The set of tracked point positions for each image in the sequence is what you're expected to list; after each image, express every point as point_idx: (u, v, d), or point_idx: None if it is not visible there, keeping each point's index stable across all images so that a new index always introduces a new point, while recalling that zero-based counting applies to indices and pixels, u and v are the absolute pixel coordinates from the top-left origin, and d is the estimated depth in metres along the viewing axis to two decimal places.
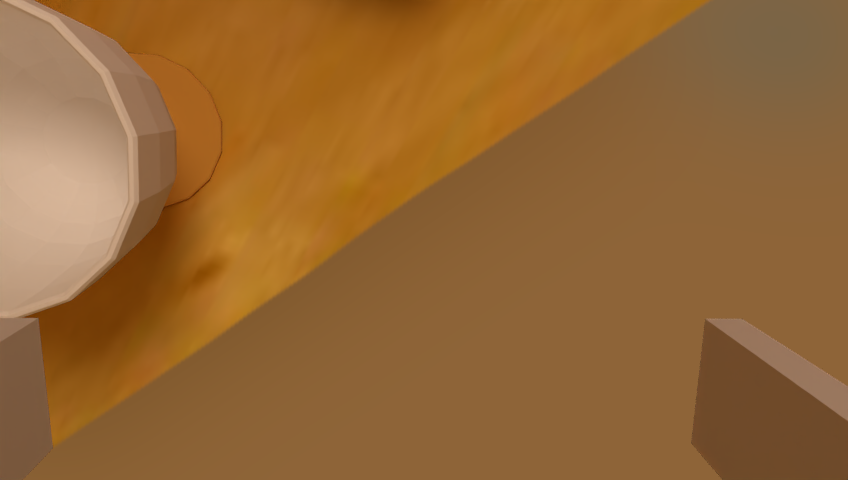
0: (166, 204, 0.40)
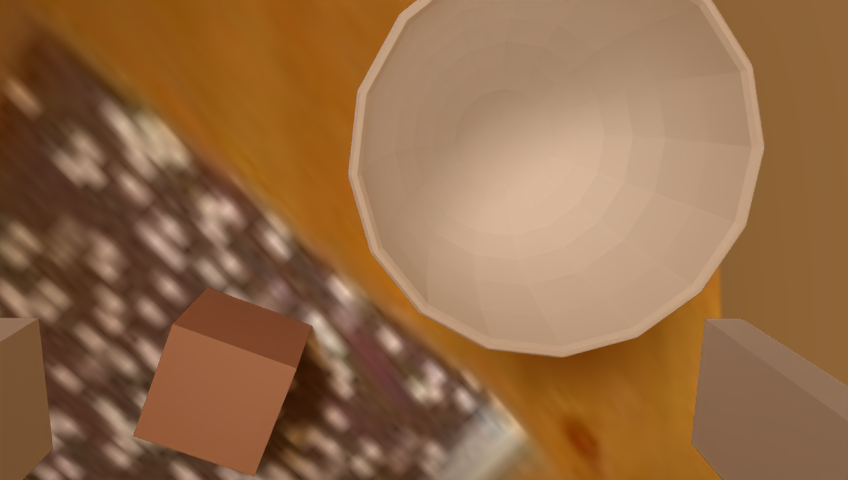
0: None
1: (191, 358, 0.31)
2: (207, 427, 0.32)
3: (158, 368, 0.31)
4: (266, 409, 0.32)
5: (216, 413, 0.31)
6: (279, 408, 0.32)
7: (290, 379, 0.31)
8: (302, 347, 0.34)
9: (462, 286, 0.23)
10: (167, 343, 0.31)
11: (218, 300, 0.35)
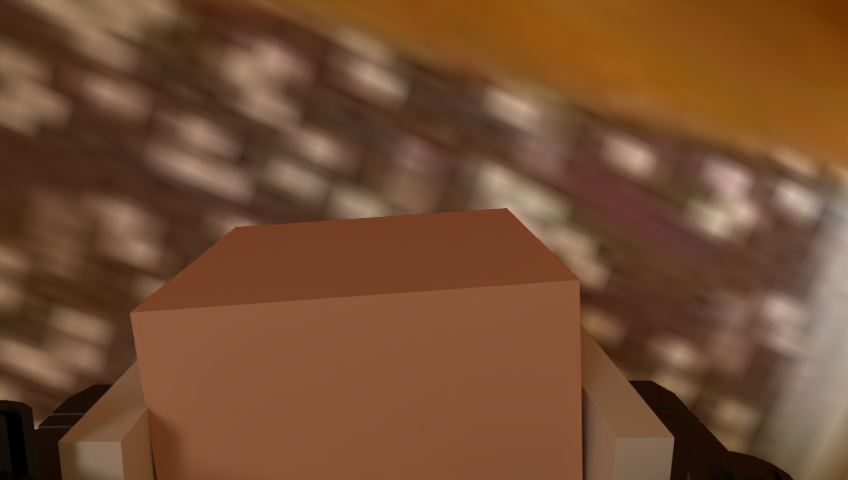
0: None
1: (240, 393, 0.09)
2: None
3: (159, 469, 0.09)
4: (539, 448, 0.09)
5: None
6: (577, 430, 0.09)
7: (574, 324, 0.09)
8: (534, 240, 0.11)
9: None
10: (146, 381, 0.09)
11: (267, 236, 0.13)
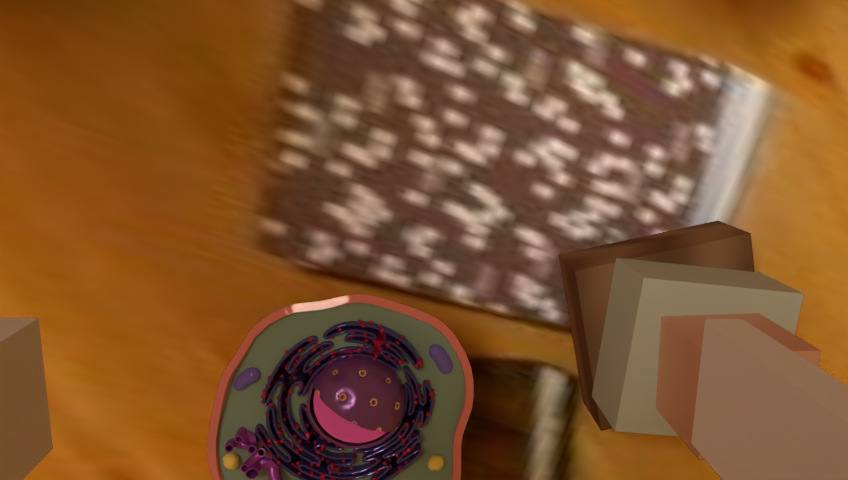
0: None
1: None
2: None
3: None
4: None
5: None
6: None
7: (817, 361, 0.35)
8: (790, 333, 0.37)
9: None
10: None
11: (686, 323, 0.39)
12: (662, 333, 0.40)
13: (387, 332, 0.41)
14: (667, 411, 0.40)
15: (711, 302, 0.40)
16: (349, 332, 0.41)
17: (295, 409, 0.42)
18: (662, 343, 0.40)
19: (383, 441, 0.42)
